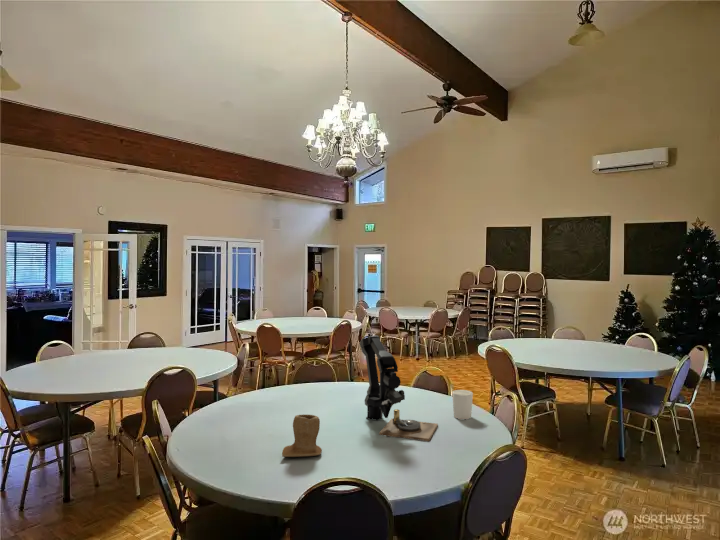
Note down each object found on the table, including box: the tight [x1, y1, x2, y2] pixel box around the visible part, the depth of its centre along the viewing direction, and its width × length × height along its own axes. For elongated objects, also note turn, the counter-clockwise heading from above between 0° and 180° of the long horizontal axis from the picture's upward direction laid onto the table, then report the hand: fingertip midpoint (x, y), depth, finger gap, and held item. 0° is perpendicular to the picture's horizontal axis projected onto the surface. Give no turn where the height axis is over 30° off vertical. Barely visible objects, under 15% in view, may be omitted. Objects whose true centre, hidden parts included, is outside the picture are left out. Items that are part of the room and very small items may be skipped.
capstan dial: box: [392, 408, 421, 432], centre depth 208 cm, size 14×10×6 cm
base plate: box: [378, 418, 439, 442], centre depth 207 cm, size 22×20×1 cm
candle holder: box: [451, 389, 474, 420], centre depth 225 cm, size 10×10×12 cm
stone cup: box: [281, 414, 323, 458], centre depth 180 cm, size 15×12×15 cm
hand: (386, 417), depth 208 cm, fingers closed
